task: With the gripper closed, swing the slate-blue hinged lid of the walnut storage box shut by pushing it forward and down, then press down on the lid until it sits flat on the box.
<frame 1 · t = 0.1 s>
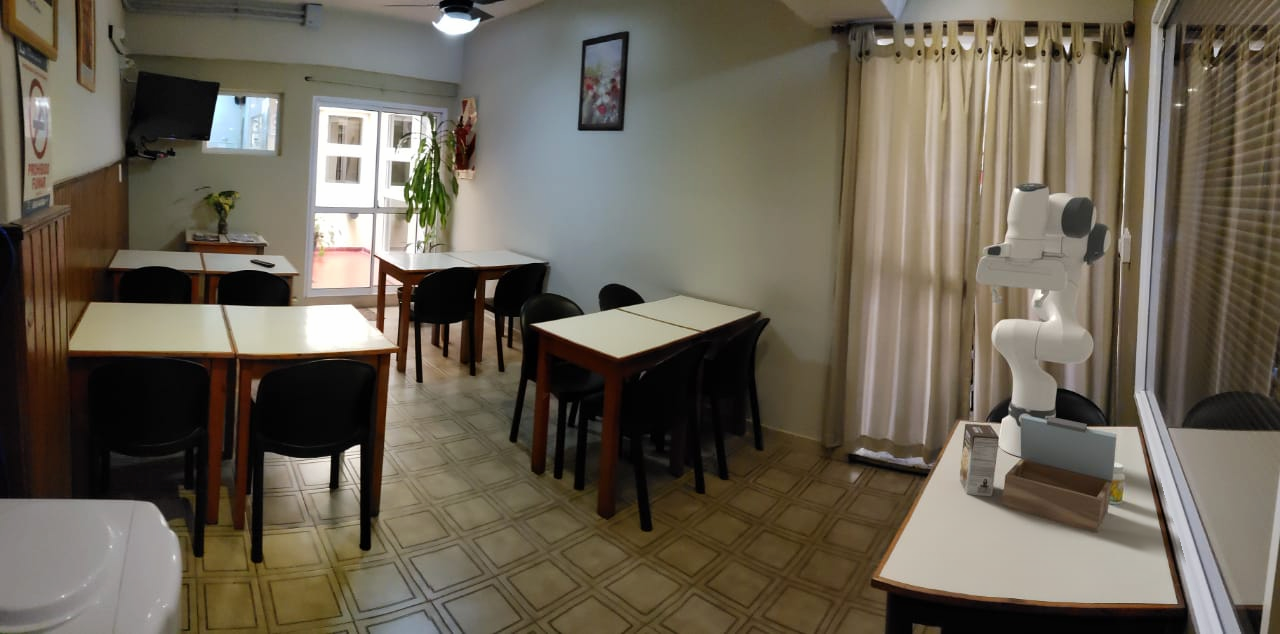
hand: (1017, 305, 178), 48 cm above the table, fingers open, 8 cm apart
coffee box: (975, 489, 184), on the table
walnut box: (1054, 508, 173), on the table
supplement bottle: (1108, 500, 178), on the table
lid: (1065, 446, 173), point 15 cm above the table, hinge at 65.0°
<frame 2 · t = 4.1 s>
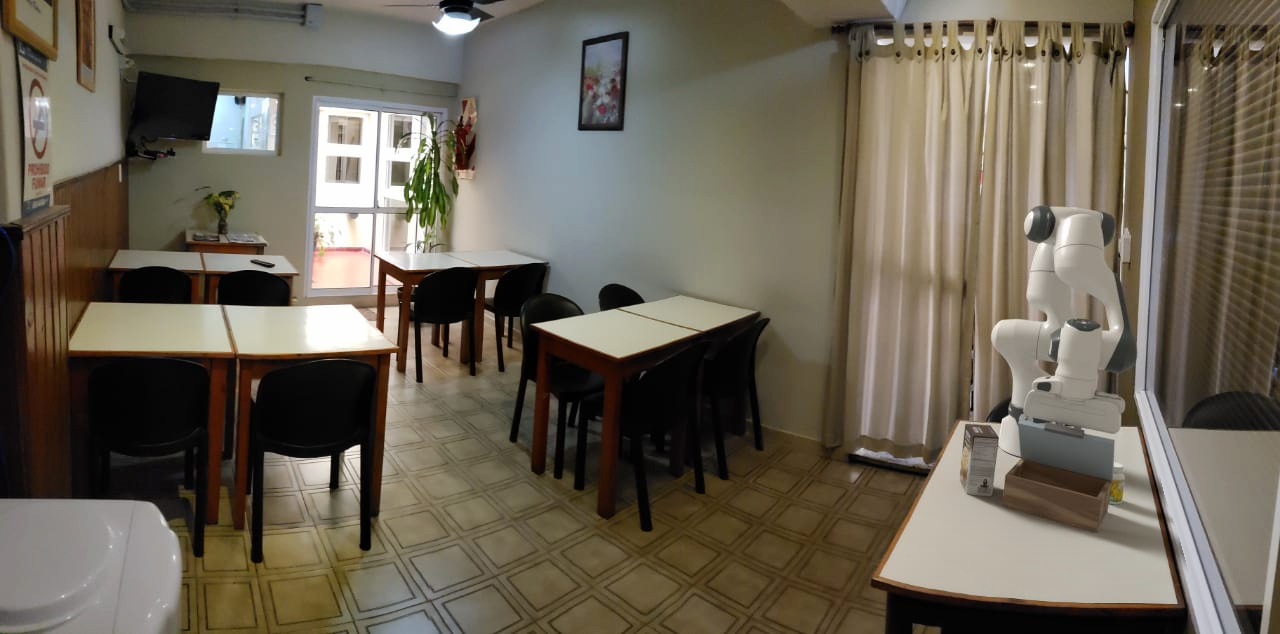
hand: (1067, 441, 173), 16 cm above the table, fingers closed, pressing on lid
lid: (1064, 449, 173), point 14 cm above the table, hinge at 56.3°, touching gripper
everything else where it was.
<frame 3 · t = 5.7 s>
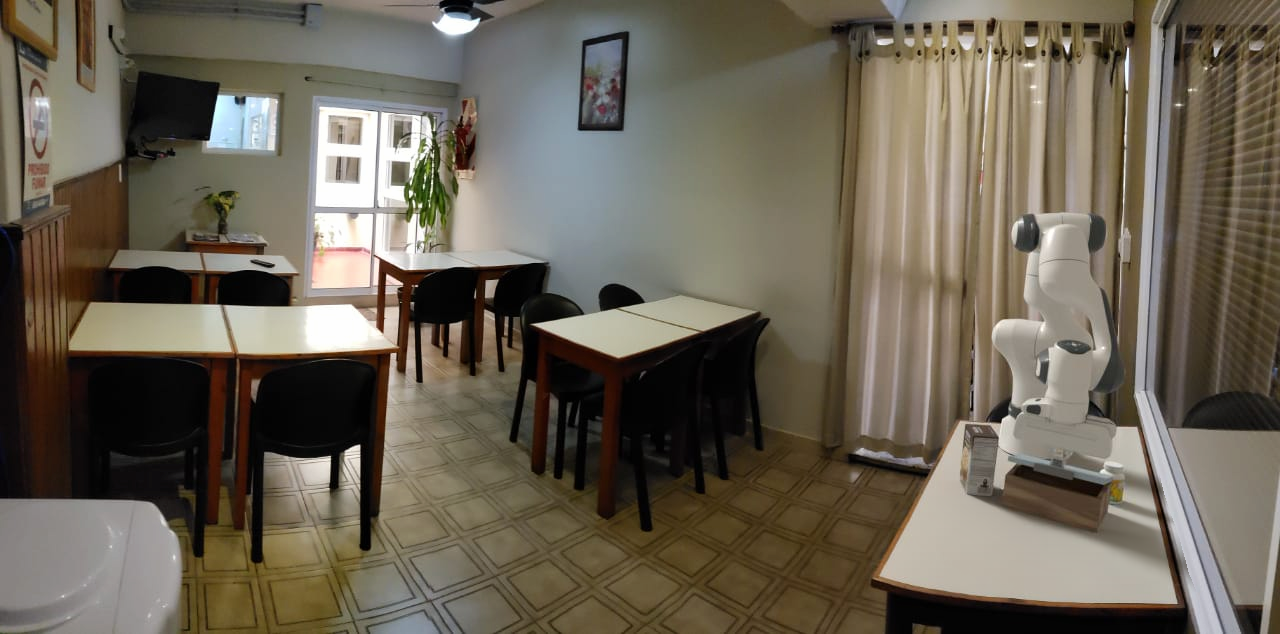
hand: (1057, 465, 169), 12 cm above the table, fingers closed, pressing on lid
lid: (1059, 469, 171), point 10 cm above the table, hinge at 14.6°, touching gripper, walnut box
everything else where it was.
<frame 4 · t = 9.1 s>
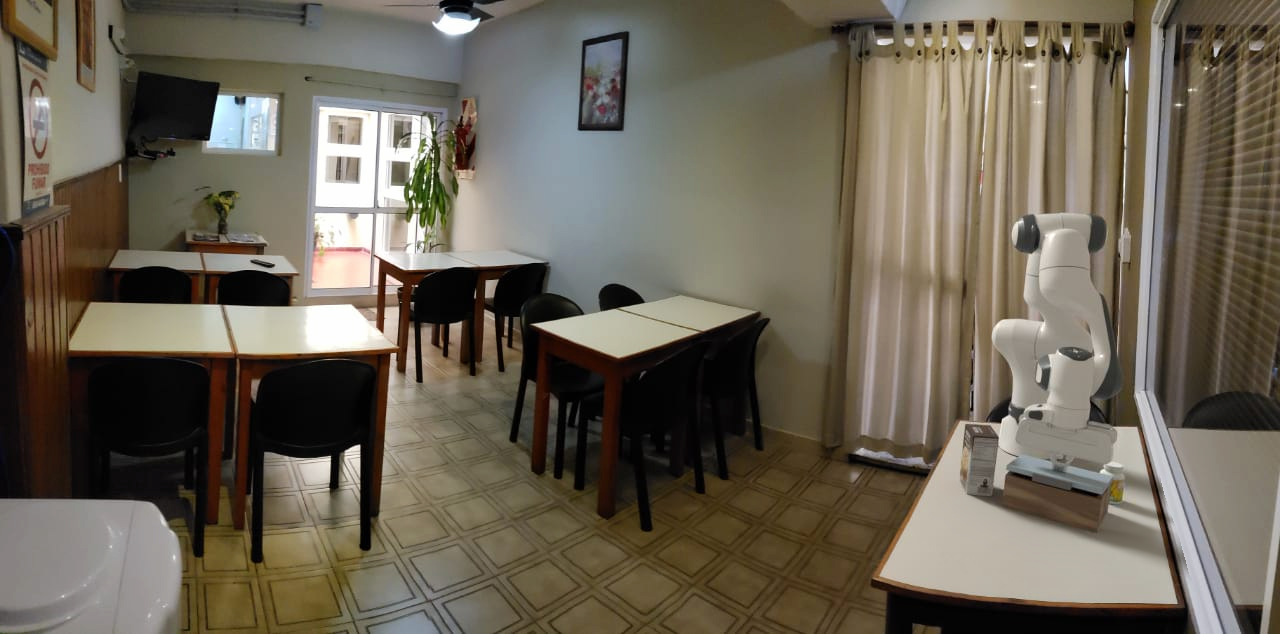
hand: (1059, 470, 171), 10 cm above the table, fingers closed, pressing on lid
lid: (1058, 474, 171), point 9 cm above the table, hinge at 5.3°, touching gripper
everything else where it was.
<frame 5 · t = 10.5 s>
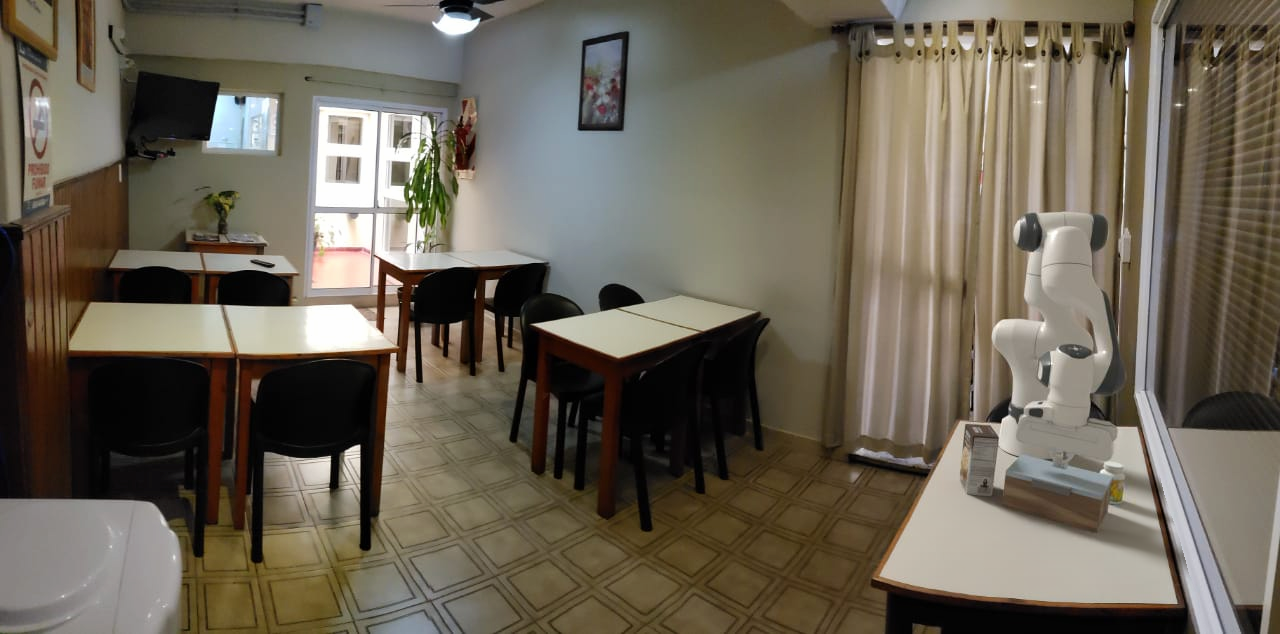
hand: (1059, 467, 171), 11 cm above the table, fingers closed
lid: (1057, 477, 171), point 8 cm above the table, hinge at 0.0°, touching walnut box
everything else where it was.
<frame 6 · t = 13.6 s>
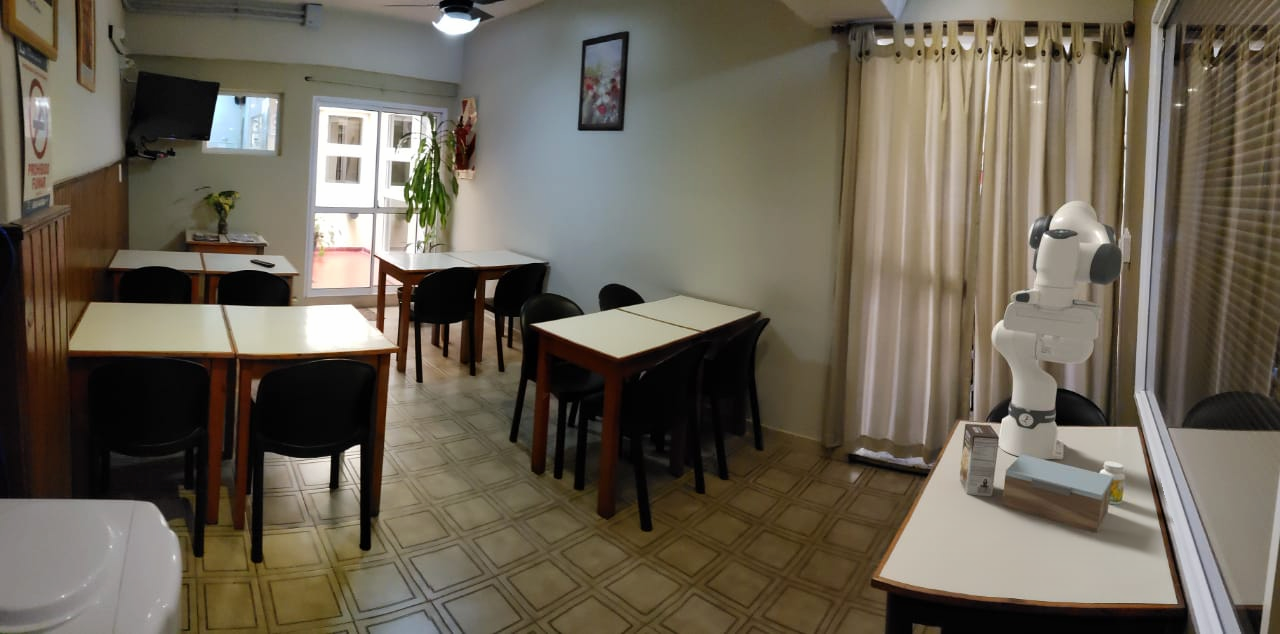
hand: (1046, 352, 174), 37 cm above the table, fingers closed
nothing on the table moved.
at the end: lid at +0° (first picture: +65°) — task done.
